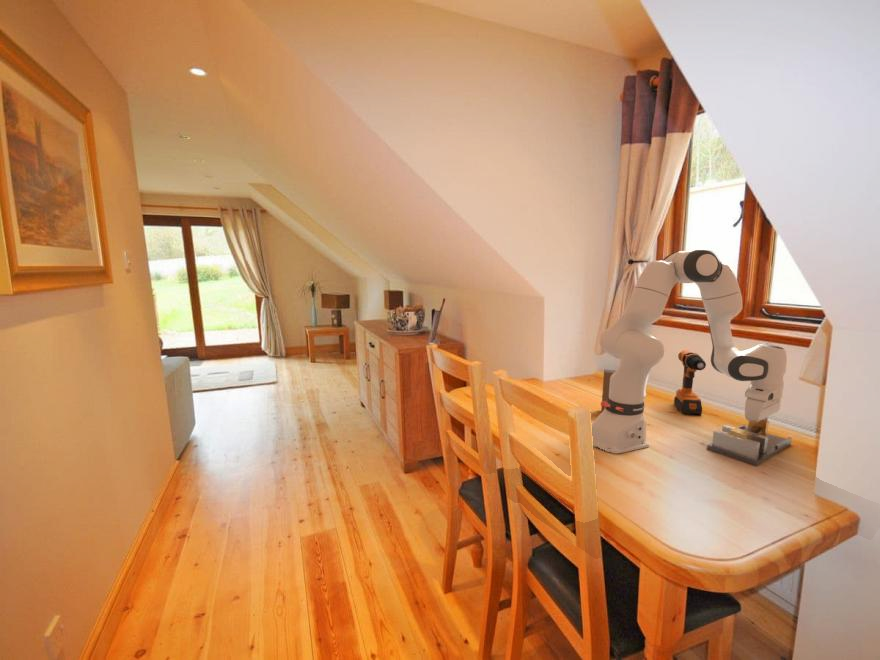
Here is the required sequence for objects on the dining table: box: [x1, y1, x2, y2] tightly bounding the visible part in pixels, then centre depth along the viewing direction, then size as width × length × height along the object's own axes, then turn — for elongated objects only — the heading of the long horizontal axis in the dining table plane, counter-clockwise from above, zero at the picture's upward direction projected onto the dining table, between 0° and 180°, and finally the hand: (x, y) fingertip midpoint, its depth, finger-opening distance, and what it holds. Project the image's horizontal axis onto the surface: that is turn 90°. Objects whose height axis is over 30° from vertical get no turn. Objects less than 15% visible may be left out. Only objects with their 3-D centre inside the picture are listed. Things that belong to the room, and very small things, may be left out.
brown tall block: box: [600, 369, 617, 414], centre depth 167 cm, size 9×4×18 cm, turn 66°
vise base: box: [706, 423, 792, 467], centre depth 137 cm, size 28×14×6 cm, turn 123°
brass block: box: [729, 426, 752, 440], centre depth 132 cm, size 4×5×6 cm
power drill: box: [673, 349, 707, 415], centre depth 168 cm, size 22×7×25 cm, turn 165°
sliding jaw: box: [721, 420, 770, 454], centre depth 137 cm, size 13×12×7 cm
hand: (760, 428), depth 142 cm, fingers closed
